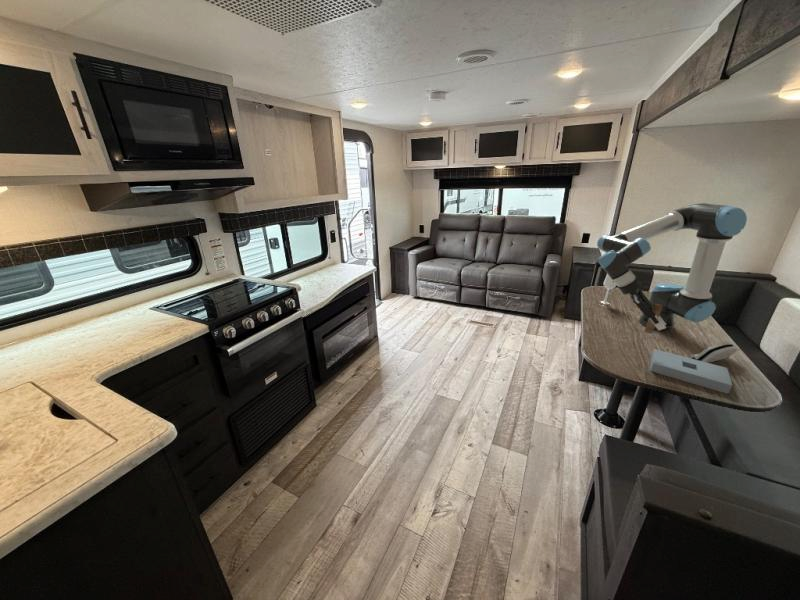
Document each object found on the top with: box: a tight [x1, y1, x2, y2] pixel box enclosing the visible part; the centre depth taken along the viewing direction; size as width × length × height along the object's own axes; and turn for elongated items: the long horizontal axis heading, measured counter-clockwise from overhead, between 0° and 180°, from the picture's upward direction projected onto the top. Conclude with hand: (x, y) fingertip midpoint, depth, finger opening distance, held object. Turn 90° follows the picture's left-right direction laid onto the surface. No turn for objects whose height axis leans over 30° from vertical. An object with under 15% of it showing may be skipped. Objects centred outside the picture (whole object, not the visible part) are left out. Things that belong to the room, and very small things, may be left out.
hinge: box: [689, 342, 739, 363], centre depth 139 cm, size 17×5×10 cm, turn 106°
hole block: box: [649, 348, 733, 395], centre depth 130 cm, size 24×14×4 cm, turn 52°
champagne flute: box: [600, 273, 617, 304], centre depth 192 cm, size 7×7×24 cm
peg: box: [644, 304, 663, 335], centre depth 134 cm, size 3×3×13 cm
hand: (662, 327), depth 133 cm, fingers closed on peg, 3 cm apart
